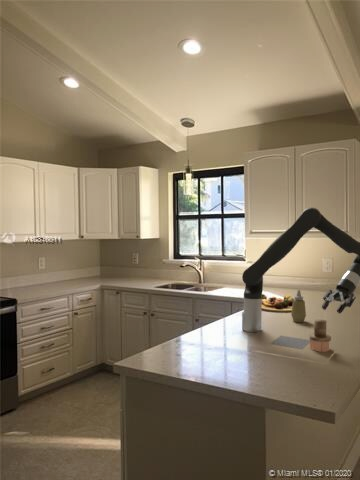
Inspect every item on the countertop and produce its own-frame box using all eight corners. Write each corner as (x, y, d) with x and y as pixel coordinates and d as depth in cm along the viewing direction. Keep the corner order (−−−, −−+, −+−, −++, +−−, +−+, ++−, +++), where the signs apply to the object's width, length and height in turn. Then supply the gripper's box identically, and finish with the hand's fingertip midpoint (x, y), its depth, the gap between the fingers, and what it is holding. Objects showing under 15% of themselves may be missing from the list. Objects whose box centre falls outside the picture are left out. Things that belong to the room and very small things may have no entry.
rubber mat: (269, 345, 186) (269, 343, 186) (280, 336, 200) (280, 335, 200) (302, 350, 178) (302, 349, 178) (311, 341, 192) (311, 340, 192)
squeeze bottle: (305, 320, 234) (306, 289, 233) (306, 323, 226) (306, 291, 225) (291, 319, 236) (291, 288, 235) (291, 322, 228) (291, 290, 227)
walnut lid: (307, 339, 177) (307, 321, 177) (312, 334, 185) (312, 317, 185) (328, 342, 173) (328, 324, 172) (333, 337, 180) (333, 320, 180)
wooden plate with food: (243, 305, 277) (243, 293, 277) (280, 300, 291) (281, 289, 290) (272, 316, 248) (272, 302, 248) (312, 310, 262) (312, 298, 261)
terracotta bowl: (308, 350, 178) (308, 339, 177) (313, 346, 184) (313, 335, 184) (327, 353, 173) (327, 342, 173) (331, 349, 180) (331, 337, 180)
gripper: (332, 276, 191) (314, 302, 186) (358, 279, 178) (339, 308, 173) (340, 286, 193) (322, 312, 189) (366, 290, 181) (347, 319, 176)
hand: (330, 310), depth 181 cm, fingers open, 8 cm apart
